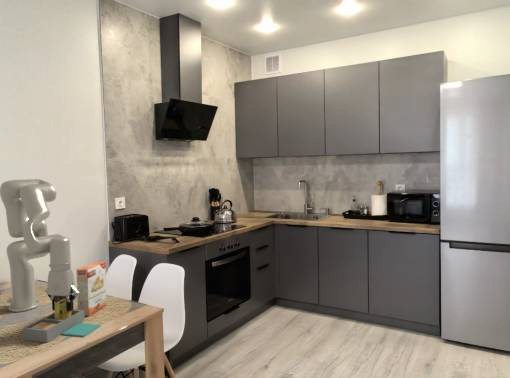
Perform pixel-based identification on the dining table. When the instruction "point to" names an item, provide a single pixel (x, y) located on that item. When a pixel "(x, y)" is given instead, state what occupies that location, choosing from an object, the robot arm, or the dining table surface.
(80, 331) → the mat
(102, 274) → the cracker box
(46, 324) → the offcut upper
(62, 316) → the sauce bottle
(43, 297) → the dining table surface
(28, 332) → the rack
